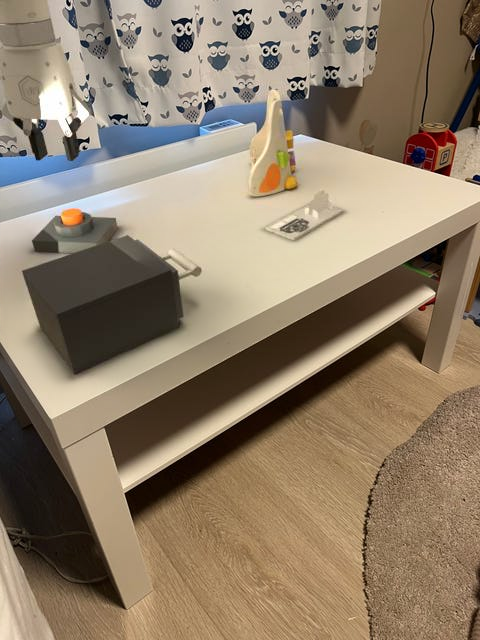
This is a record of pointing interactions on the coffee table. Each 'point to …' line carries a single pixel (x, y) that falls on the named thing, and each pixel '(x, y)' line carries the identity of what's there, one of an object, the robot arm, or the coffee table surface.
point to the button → (72, 216)
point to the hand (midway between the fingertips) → (57, 156)
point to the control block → (74, 234)
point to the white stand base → (305, 218)
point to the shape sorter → (272, 153)
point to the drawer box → (102, 301)
